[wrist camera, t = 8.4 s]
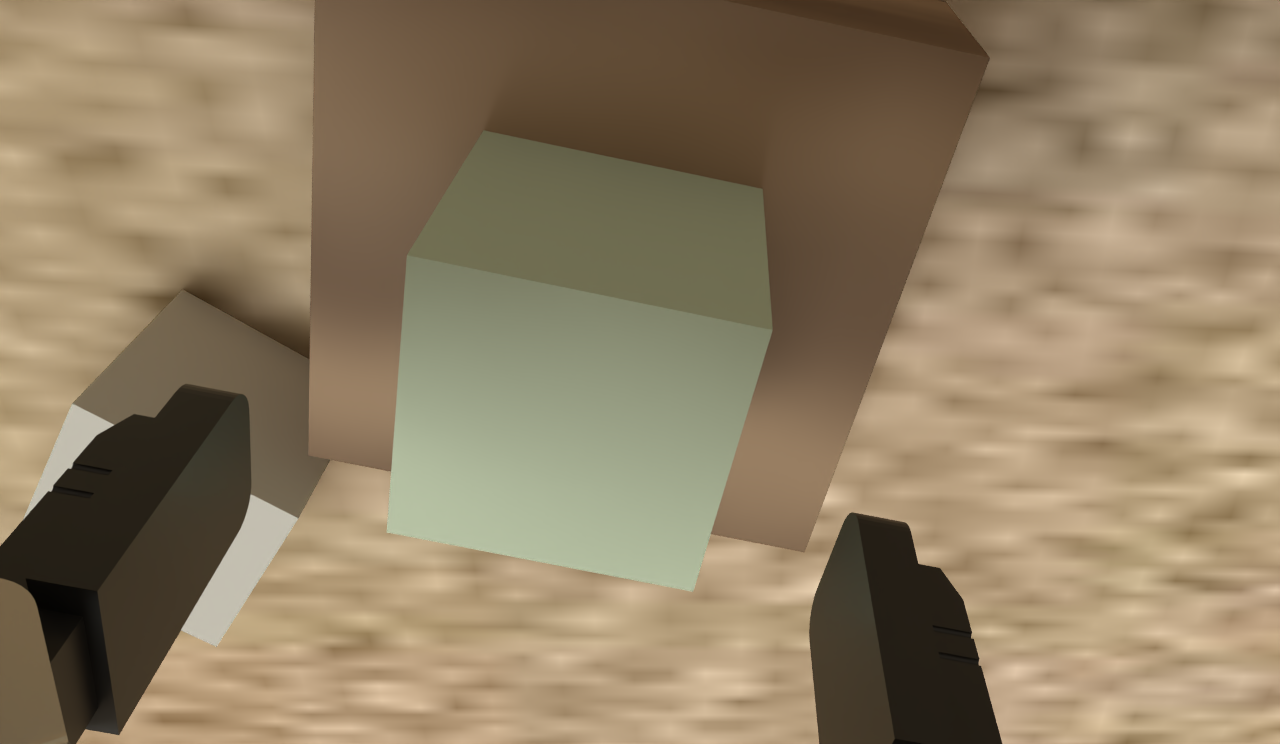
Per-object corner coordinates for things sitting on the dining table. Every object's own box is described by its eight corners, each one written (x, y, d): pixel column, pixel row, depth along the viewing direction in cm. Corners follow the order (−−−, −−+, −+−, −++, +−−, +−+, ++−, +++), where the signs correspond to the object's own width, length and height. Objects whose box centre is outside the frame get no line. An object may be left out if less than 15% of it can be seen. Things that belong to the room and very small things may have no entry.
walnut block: (388, -120, 19) (316, -89, 16) (945, 1, 20) (989, 57, 16) (364, 358, 25) (308, 455, 22) (794, 444, 26) (804, 552, 22)
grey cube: (184, 288, 25) (71, 403, 21) (368, 389, 26) (298, 518, 22) (121, 422, 27) (9, 550, 23) (292, 509, 28) (216, 646, 24)
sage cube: (483, 130, 18) (406, 254, 14) (762, 188, 18) (772, 330, 14) (457, 367, 20) (386, 532, 16) (700, 415, 21) (693, 591, 16)
